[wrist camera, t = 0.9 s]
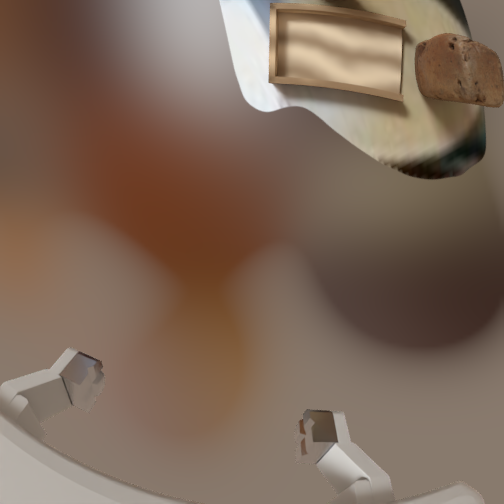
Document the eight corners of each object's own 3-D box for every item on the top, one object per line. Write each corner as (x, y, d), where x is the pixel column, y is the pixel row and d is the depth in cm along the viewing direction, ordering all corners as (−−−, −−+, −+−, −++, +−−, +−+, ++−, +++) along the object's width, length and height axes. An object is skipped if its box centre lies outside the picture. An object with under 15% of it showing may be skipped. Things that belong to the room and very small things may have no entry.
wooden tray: (273, 8, 34) (270, 3, 31) (400, 24, 29) (405, 20, 27) (272, 83, 42) (268, 82, 40) (397, 100, 38) (402, 101, 35)
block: (450, 100, 34) (510, 114, 18) (415, 96, 37) (465, 105, 20) (443, 46, 29) (499, 33, 13) (407, 41, 31) (452, 19, 15)
